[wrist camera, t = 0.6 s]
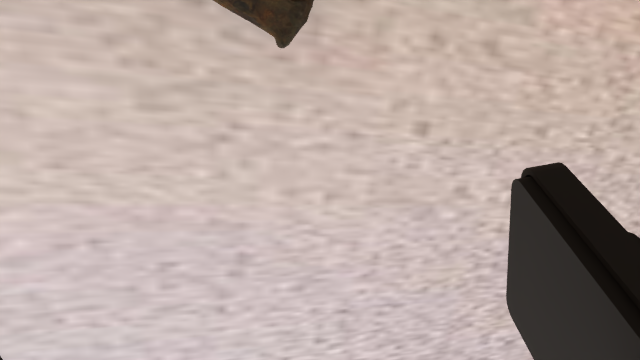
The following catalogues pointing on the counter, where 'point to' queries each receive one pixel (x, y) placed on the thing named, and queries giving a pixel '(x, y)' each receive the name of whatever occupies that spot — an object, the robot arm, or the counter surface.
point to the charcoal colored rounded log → (273, 16)
